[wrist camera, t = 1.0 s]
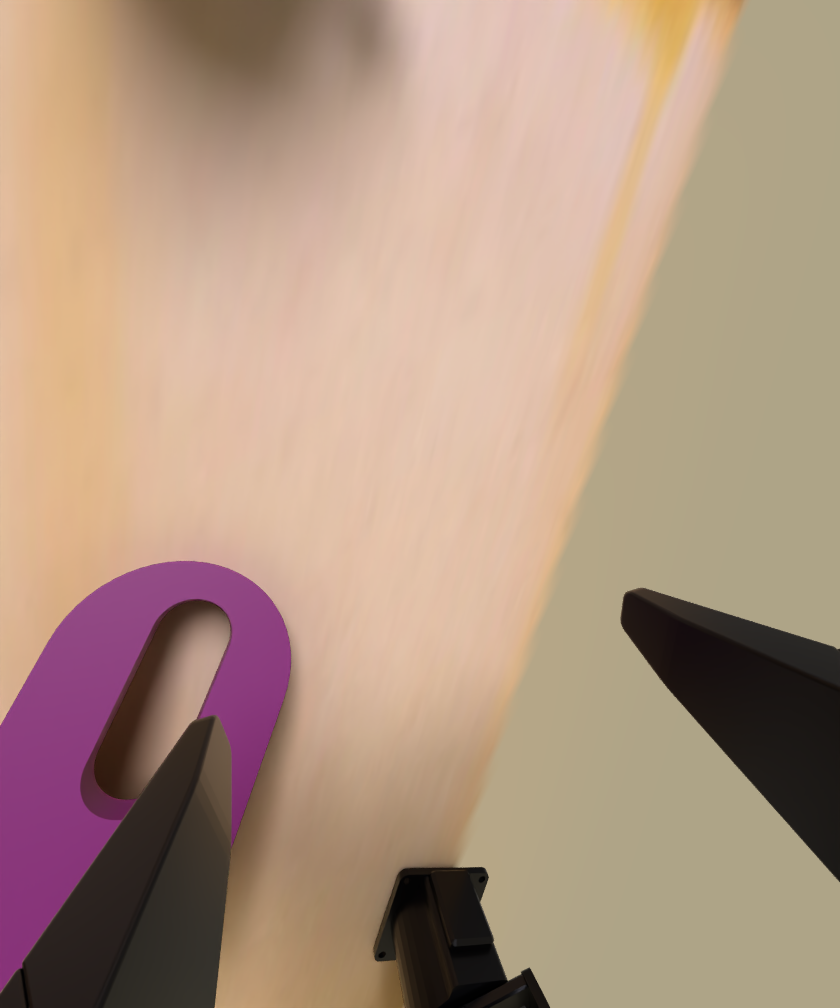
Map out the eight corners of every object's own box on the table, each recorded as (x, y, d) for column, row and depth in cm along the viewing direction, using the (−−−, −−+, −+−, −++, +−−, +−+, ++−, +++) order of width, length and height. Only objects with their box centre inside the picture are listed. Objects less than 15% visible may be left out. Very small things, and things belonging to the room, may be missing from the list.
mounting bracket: (141, 555, 25) (-61, 934, 19) (112, 530, 18) (-237, 1137, 12) (292, 603, 28) (164, 945, 22) (320, 599, 21) (139, 1111, 15)
